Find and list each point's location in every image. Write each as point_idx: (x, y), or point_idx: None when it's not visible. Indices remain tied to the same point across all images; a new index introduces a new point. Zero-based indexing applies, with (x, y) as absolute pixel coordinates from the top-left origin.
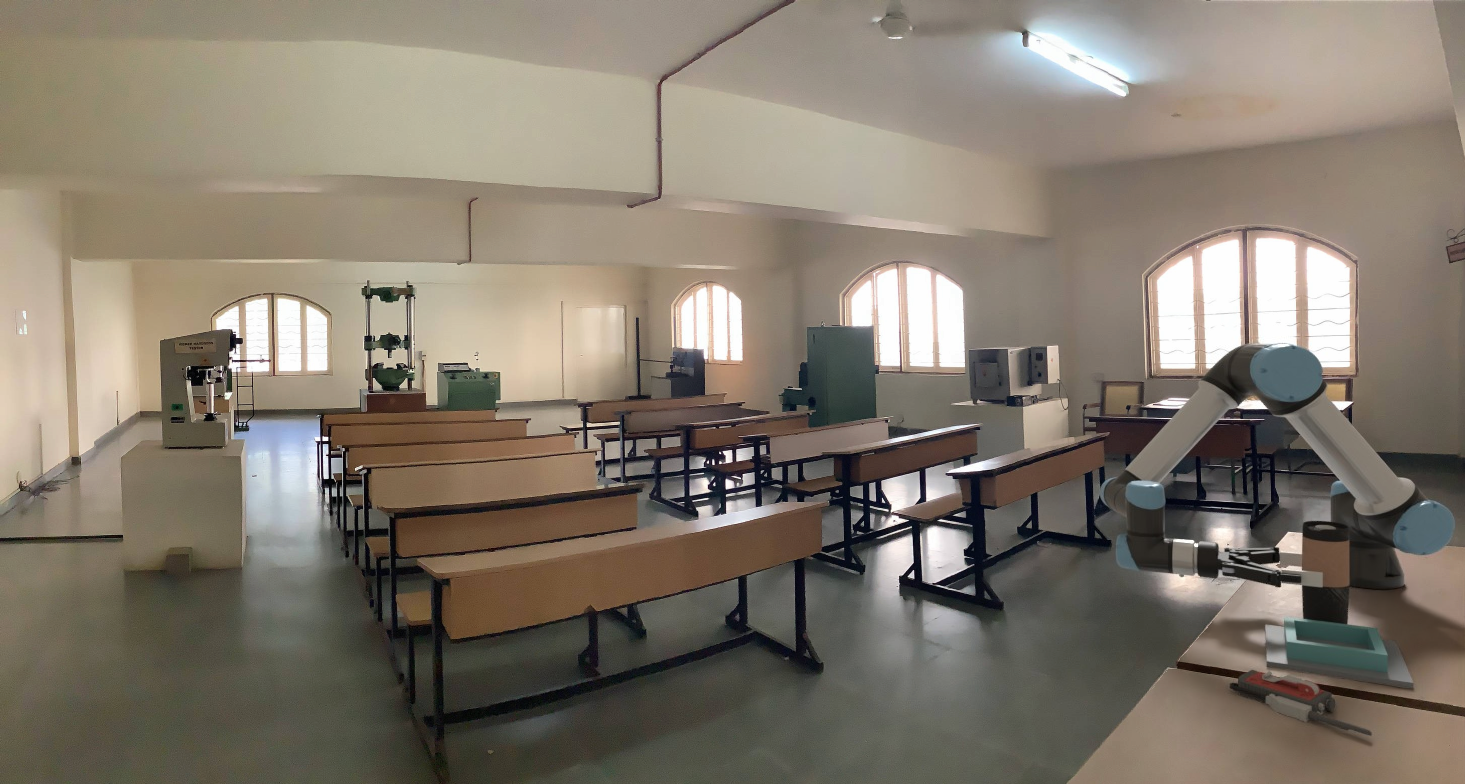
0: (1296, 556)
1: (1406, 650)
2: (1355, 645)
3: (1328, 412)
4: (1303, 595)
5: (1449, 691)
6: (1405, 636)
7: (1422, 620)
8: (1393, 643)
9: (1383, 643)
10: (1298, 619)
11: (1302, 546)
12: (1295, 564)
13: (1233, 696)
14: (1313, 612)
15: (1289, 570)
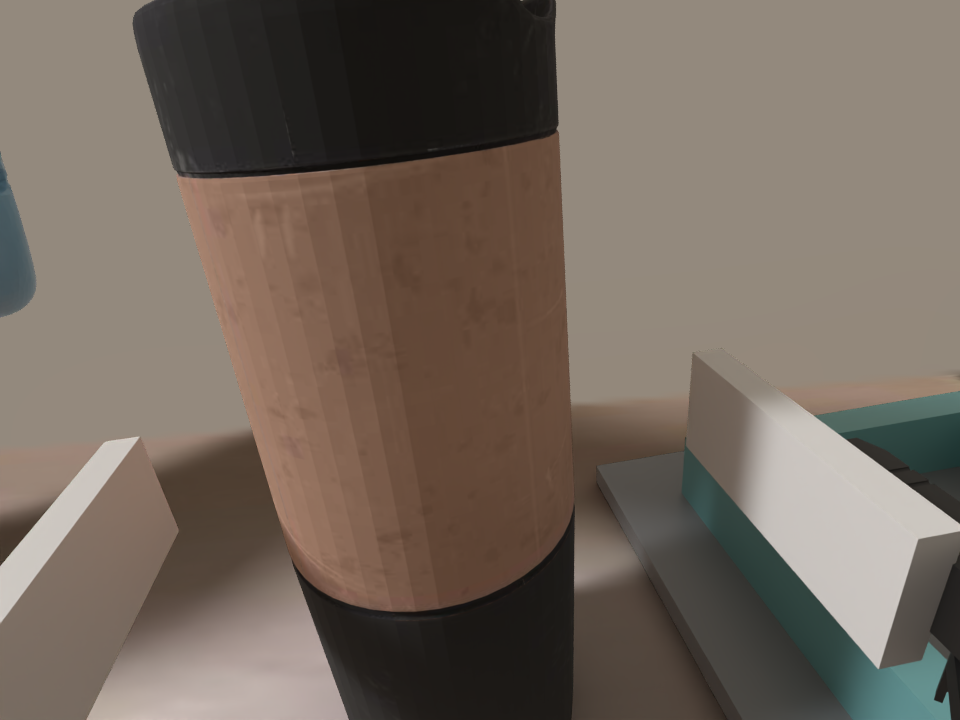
0: (66, 583)
1: (613, 462)
2: None
3: None
4: (504, 682)
5: (865, 385)
6: None
7: (261, 469)
8: (628, 466)
9: (655, 482)
10: (934, 685)
11: (423, 301)
12: (101, 660)
13: None
14: (568, 679)
15: (894, 477)
